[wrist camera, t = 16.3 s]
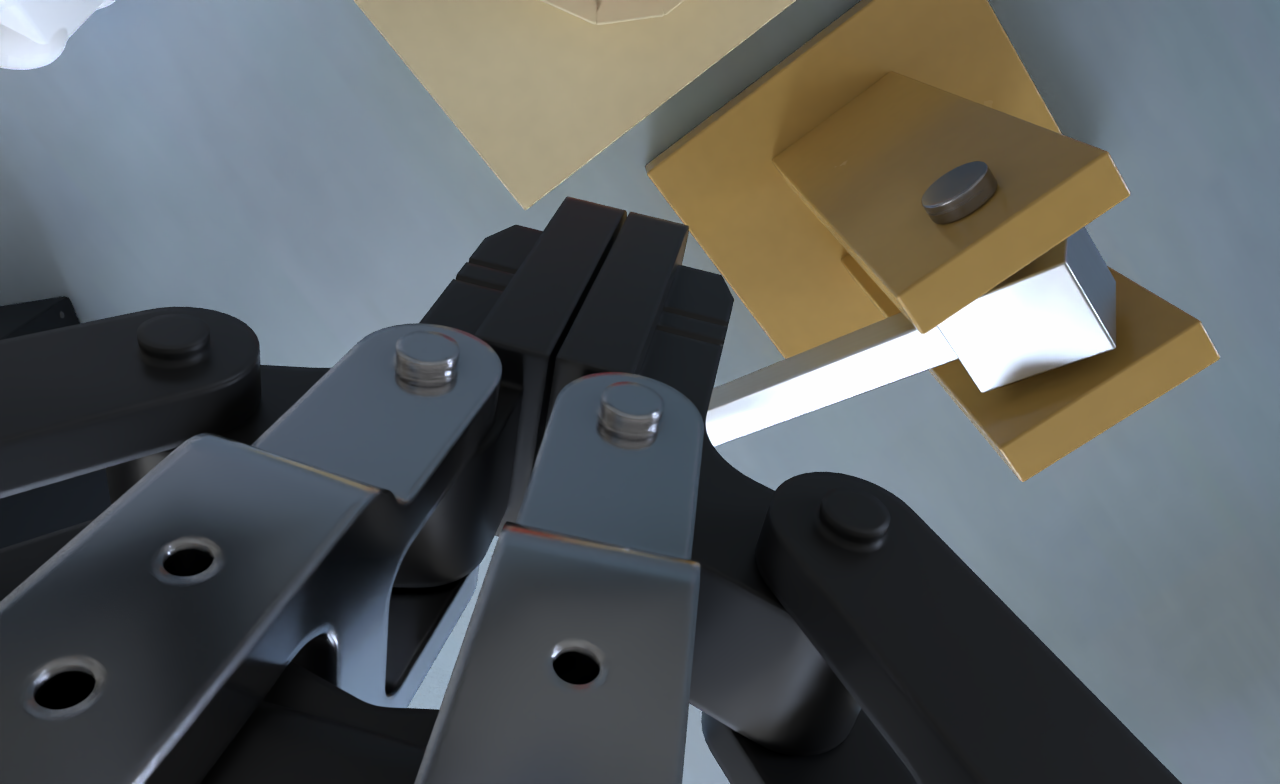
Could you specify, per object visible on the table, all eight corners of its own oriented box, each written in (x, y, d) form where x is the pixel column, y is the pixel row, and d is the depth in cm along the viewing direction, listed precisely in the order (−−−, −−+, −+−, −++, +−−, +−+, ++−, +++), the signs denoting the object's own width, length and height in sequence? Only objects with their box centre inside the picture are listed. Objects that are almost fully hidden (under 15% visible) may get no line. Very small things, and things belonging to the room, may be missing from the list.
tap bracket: (797, 371, 35) (931, 631, 22) (644, 166, 32) (688, 319, 19) (1076, 180, 33) (1419, 337, 19) (940, -61, 30) (1236, -74, 16)
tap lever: (692, 499, 30) (666, 558, 28) (565, 348, 28) (529, 404, 26) (1155, 348, 22) (1159, 420, 20) (1025, 122, 20) (1017, 179, 18)
